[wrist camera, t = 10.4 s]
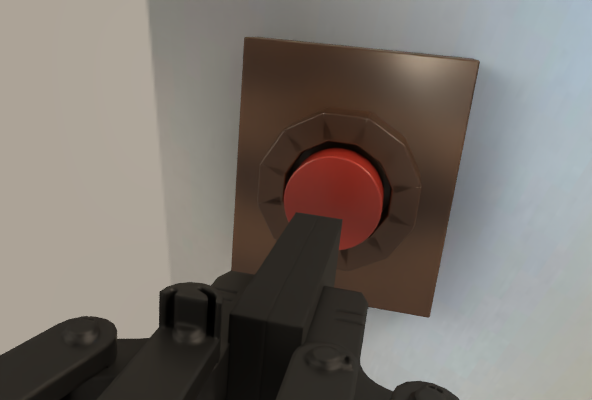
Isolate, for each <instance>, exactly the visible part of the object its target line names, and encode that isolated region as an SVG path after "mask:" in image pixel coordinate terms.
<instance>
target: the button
mask: <svg viewBox="0 0 592 400" xmlns="http://www.w3.org/2000/svg"><path fill="white" fill-rule="evenodd" d="M383 199H384V188H383V183H382V180H381V177H380V175H379V173H378V171H377V170H376V168H375V167H374V165H373V164H372V163H371V162H370V161H369V160H368V159H367V158H365V157H364V156H362V155H361V154H359V153H357V152H355V151H352V150H349V149H344V148H328V149H323V150H320V151H318V152H316V153H314V154H312V155H310V156H309V157H308V158H307V159H305V160H304V161H303V162H302V164H301V165H300V166H299V167H298V168H297V170H296V171H295V172H294V173H293V174H292V176H291V177H290V179H289V181H288V183H287V185H286V189H285V193H284V210H285V214H286V217H287V219H288V222H290V221H291V219H292V217H293V216H294V214H295V213H296V212H299V213H305V214H312V215H318V216H324V217H331V218H337V219H343V221H342V229H341V237H340V245H339V250H345V249H349V248H352V247H354V246H357V245H359V244H360V243H362V242H363V241H365V240H366V239H367V238H368V237H369V236H370V235H371V234H372V233H373V232H374V230H375V229H376V227H377V225H378V223H379V220H380V218H381V213H382V207H383Z"/></svg>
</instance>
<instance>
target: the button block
mask: <svg viewBox="0 0 592 400" xmlns="http://www.w3.org/2000/svg"><path fill="white" fill-rule="evenodd" d="M479 63H480V62H479V61H478V60H475V59H472V58H462V57H452V56H443V55H433V54H423V53H413V52H403V51H393V50H383V49H373V48H363V47H353V46H343V45H333V44H323V43H313V42H303V41H293V40H283V39H273V38H263V37H245V38H244V54H243V71H242V89H241V107H240V125H239V142H238V160H237V178H236V196H235V213H234V231H233V249H232V267H231V271H237V272H243V273H248V274H254V275H255V274H256V272H257V271H258V269H259V268H260V266H261V265H262V263H263V262H264V260H265V259H266V257H267V256H268V254H269V253H270V251H271V249H272V248H273V246H274V245H275V243H276V242H277V240H278V239H279V237H280V236H281V234H282V233H283V231H284V230H285V228H286V227H287V225H288V224H289V222H288V219H287V217H286V214H285V210H284V193H285V189H286V185H287V183H288V181H289V179H290V177H291V176H292V174H293V173H294V172H295V171H296V170H297V168H298V167H299V166H300V165H301V164H302V162H303V161H304V160H305V159H307V158H308V157H309V156H310V155H312V154H314V153H316V152H318V151H320V150H323V149H328V148H344V149H349V150H352V151H355V152H357V153H359V154H361V155H362V156H364V157H365V158H367V159H368V160H369V161H370V162H371V163H372V164H373V165H374V167H375V168H376V170H377V171H378V173H379V175H380V177H381V180H382V183H383V188H384V199H383V207H382V213H381V218H380V220H379V223H378V225H377V227H376V229H375V230H374V232H373V233H372V234H371V235H370V236H369V237H368V238H367V239H366V240H365V241H363V242H362V243H360V244H359V245H357V246H354V247H352V248H349V249H345V250H339V252H338V260H337V268H336V276H335V284H334V288H340V289H346V290H351V291H357V292H362V294H363V295H364V297H365V299H366V300H367V302H368V307H373V308H378V309H384V310H389V311H395V312H400V313H406V314H412V315H417V316H423V317H430V312H431V307H432V302H433V297H434V292H435V287H436V282H437V277H438V272H439V267H440V261H441V256H442V251H443V246H444V241H445V236H446V231H447V226H448V221H449V216H450V211H451V206H452V201H453V195H454V190H455V185H456V180H457V175H458V170H459V165H460V160H461V155H462V150H463V145H464V140H465V135H466V129H467V124H468V119H469V114H470V109H471V104H472V99H473V94H474V89H475V84H476V79H477V74H478V69H479Z"/></svg>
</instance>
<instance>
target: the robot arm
mask: <svg viewBox="0 0 592 400" xmlns="http://www.w3.org/2000/svg"><path fill="white" fill-rule="evenodd" d="M342 221H343V219H337V218H331V217H324V216H318V215H312V214H305V213H299V212H296V213H295V214H294V216H293V217H292V219H291V221H290V222H289V224H288V225H287V227H286V228H285V230H284V231H283V233H282V234H281V236H280V237H279V239H278V240H277V242H276V243H275V245H274V246H273V248H272V249H271V251H270V253H269V254H268V256H267V257H266V259H265V260H264V262H263V263H262V265H261V266H260V268H259V269H258V271H257V272H256V274H255V275H254V274H248V273H243V272H237V271H230V272H228V273H226V274H224V275H222V276H220V277H218V278H217V279H216V280H215V281H214V283H213V284H212V285H211V286H210V285H206V284H203V283H193V282H188V283H178V284H175V285H171V286H168V287H166V288H165V289H164V290H162V291H160V301H159V303H160V304H159V328H158V329H157V330H156V331H155V333H154V334H153V335H152V336H151V337H150V338H143V339H117V329H116V327H115V325H114V324H113V323H112V322H110V321H109V320H107V319H103V318H98V317H92V316H90V317H88V316H84V317H79V318H74V319H69V320H67V321H64V322H62V323H59V324H57V325H55V326H53V327H52V328H50V329H48V330H46V331H44V332H43V333H41V334H39V335H37V336H35V337H33V338H31V339H30V340H28V341H26V342H24V343H22V344H21V345H19V346H17V347H15V348H13V349H11V350H10V351H8V352H6V353H4V354H2V355H0V400H459V399H458V397H456V396H455V395H454V394H452V393H451V392H450V391H448V390H447V389H445V388H443V387H440V386H438V385H435V384H433V383H428V382H422V381H412V382H405V383H403V384H401V385H399V386H397V387H396V388H395V390H394V391H391V390H388V389H386V388H384V387H382V386H380V385H378V384H377V383H375V382H374V381H373V380H371V379H370V378H369V377H368V376H367V375H366V374H365V373H364V371H363V370H362V367H361V365H360V355H361V349H362V342H363V335H364V329H365V322H366V316H367V309H368V302H367V300H366V299H365V297H364V295H363V294H362V292H357V291H351V290H346V289H340V288H334V284H335V276H336V268H337V260H338V252H339V245H340V237H341V229H342Z"/></svg>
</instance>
